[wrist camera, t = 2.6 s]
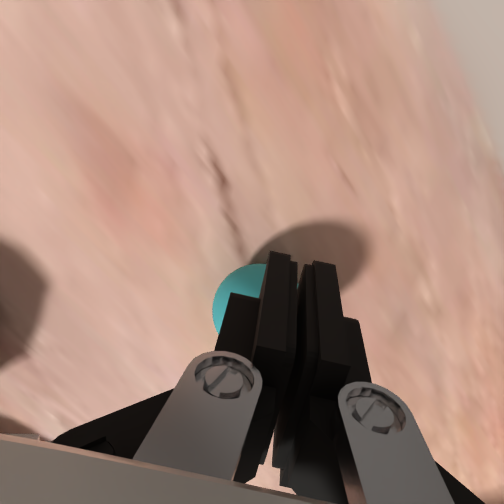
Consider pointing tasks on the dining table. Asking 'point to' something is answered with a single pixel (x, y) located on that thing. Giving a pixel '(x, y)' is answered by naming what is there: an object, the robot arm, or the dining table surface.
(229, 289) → the ball
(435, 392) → the dining table surface
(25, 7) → the dining table surface
